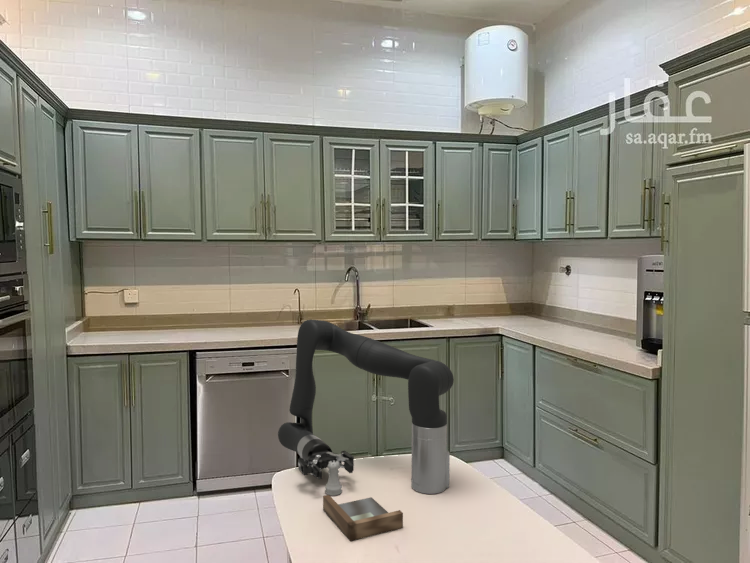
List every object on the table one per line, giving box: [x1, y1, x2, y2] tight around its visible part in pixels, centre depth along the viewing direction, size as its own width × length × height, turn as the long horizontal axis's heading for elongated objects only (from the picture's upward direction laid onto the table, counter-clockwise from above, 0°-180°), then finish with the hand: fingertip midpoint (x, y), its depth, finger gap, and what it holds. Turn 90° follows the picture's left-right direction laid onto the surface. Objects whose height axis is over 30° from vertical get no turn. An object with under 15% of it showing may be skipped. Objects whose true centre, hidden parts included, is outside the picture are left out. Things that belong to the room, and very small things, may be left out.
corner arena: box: [322, 494, 404, 542], centre depth 127 cm, size 13×16×4 cm
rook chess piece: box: [324, 460, 343, 497], centre depth 141 cm, size 4×4×8 cm
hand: (336, 472), depth 139 cm, fingers open, 8 cm apart
